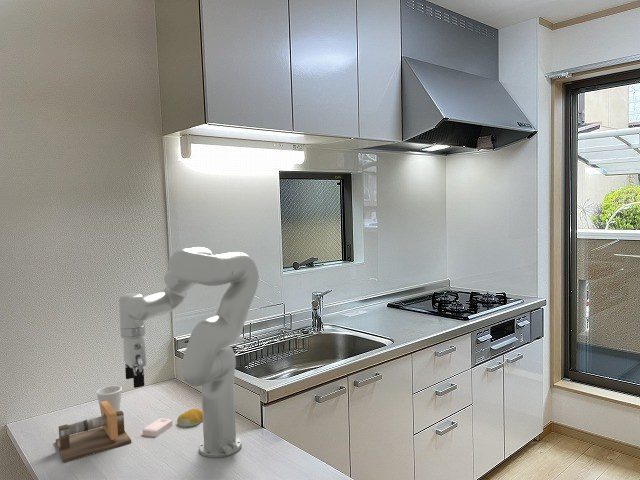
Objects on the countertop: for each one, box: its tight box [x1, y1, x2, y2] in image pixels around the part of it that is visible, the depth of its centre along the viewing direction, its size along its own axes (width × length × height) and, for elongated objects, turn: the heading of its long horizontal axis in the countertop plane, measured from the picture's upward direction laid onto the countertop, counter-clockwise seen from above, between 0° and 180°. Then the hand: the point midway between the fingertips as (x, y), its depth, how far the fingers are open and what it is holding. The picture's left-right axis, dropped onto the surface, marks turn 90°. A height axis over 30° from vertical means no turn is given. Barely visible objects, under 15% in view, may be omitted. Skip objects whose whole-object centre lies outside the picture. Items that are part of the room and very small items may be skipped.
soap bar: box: [142, 418, 173, 438], centre depth 163 cm, size 5×9×2 cm, turn 161°
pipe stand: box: [55, 409, 132, 463], centre depth 156 cm, size 16×19×8 cm
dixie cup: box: [95, 385, 123, 412], centre depth 175 cm, size 8×8×10 cm
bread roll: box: [176, 408, 203, 428], centre depth 169 cm, size 8×9×4 cm
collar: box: [100, 401, 118, 440], centre depth 158 cm, size 13×2×8 cm, turn 35°
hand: (134, 382), depth 163 cm, fingers open, 9 cm apart
